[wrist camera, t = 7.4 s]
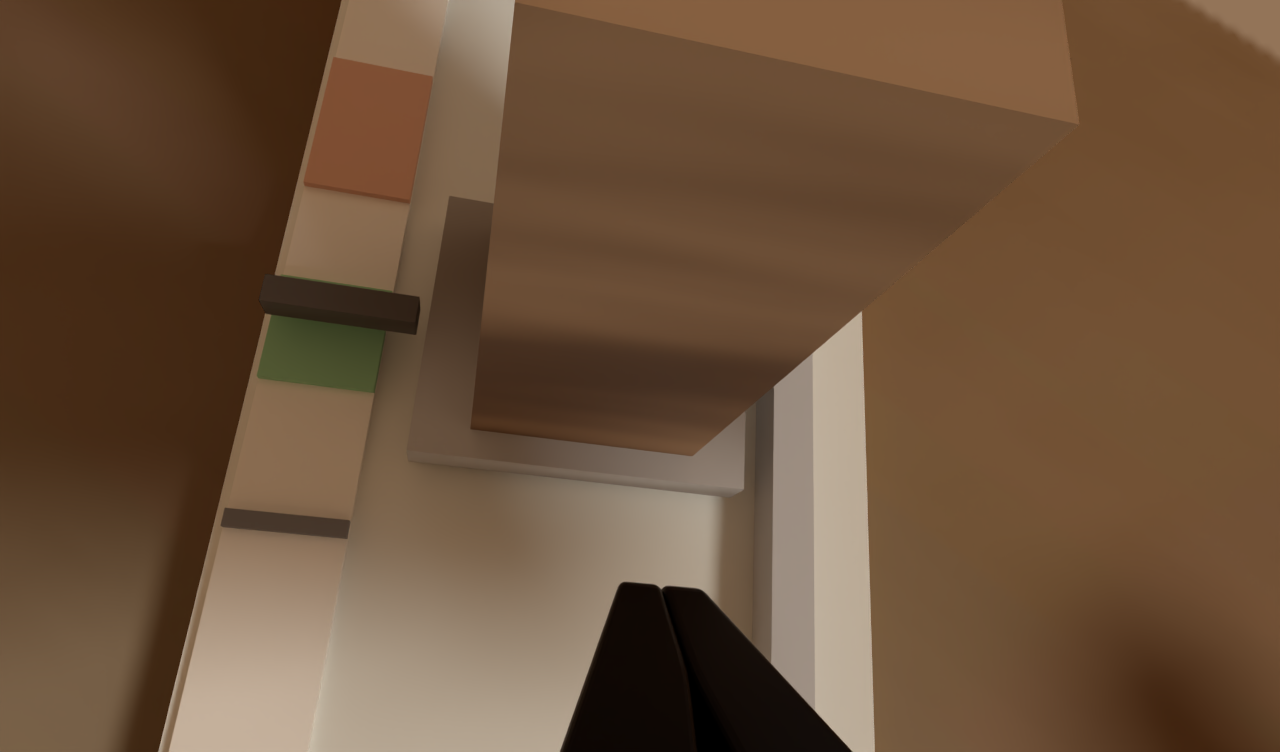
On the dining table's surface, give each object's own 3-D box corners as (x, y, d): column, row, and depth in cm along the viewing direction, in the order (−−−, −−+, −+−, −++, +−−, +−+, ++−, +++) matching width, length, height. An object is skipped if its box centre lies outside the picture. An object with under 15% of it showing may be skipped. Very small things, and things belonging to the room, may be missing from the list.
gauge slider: (729, 497, 16) (1211, 209, 6) (241, 442, 14) (-231, -82, 4) (736, 265, 18) (1117, -261, 8) (301, 191, 16) (64, -596, 6)
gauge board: (848, 922, 15) (1158, 1118, 9) (141, 910, 13) (-171, 1161, 6) (830, -62, 24) (981, -347, 17) (396, -169, 21) (374, -546, 15)
